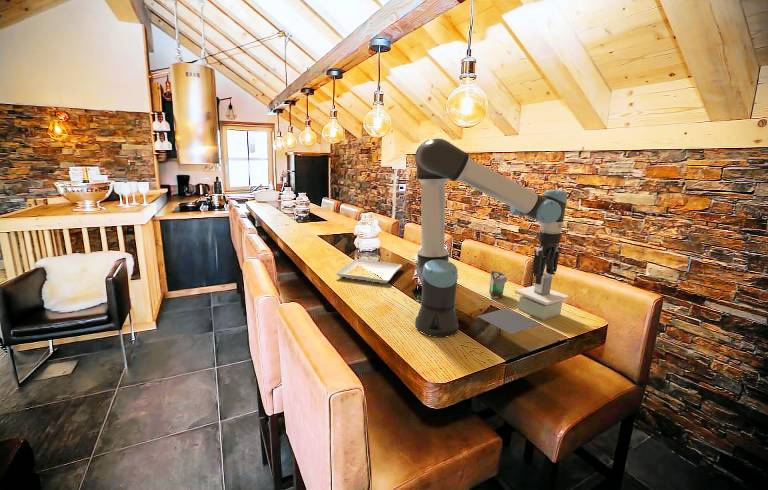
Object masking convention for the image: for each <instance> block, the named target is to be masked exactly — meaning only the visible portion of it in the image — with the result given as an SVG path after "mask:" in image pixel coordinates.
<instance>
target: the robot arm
mask: <svg viewBox="0 0 768 490" xmlns="http://www.w3.org/2000/svg"><path fill="white" fill-rule="evenodd" d="M414 162H415V165H416V180H417V181H418V182H419V183H420V193H421V195H420V198H421V199H420V200H421V201H420V202H421V203H420V204H421V206H420V207H421V210H420V211H421V214H420V215H421V216H420V217H421V227H420V228H421V230H420V231H421V248H420V249H419V250H418V251H417V262H416V266H415V267H416V268H415V269H416V270H415V271H416V275H417V277H418V279H419V281H420V284H421V304H420V307H419V311H418V313H417V315H416V317H415V321H414V327H415V326H416V327H415V329H416V328H417V329H418V330H419V331H421V332H423V333H425V334H427V335H426V336H428V335H431V336H430V337H432V336H436V337H435V338H447V337H446V336H449V337H452V336H455V335H456V334H457V333H458V331H459V321H458V317H457V314H456V313H457V312H456V299H457V286H458V284H457V283H458V279H459V278H458V277H459V275H458V268H457V266H456V264H454V263H452V262H451V261H450V262H449V260H450V259H449V253H450V252H449V251H448V249H446V247H445V246H446V245H445V244H446V243H445V241H446V239H445V238H446V236H445V234H446V232H445V230H446V229H445V227H446V224H445V222H446V217H445V216H446V183H447V182H448V181H449V180H450V181H452V182H461V183H463V184H465V185H467V186H469V187H471V188H473V189H475V190H477V191H479V192H481V193H483V194H485V195H487V196H489V197H491V198H493V199H494V200H497V201H499V202H500V203H503V204H504V205H507V206H509V211H510V214H512V215H513V216H519V217H521V216H523V217H524V216H525V217H526V218H527V217H528V218H530V219H533V220H536V221H538V222H540V225H539V230H540V231H539V232H538V233H539V234H538V241H539V242H540V244H539V248H538V249H534V250H533V253H534V254H533V255H534V257H533V258H534V259H533V265H532V266H533V267H532V275H535V276H536V277H535V282H536V284H534V285H535V291H537V292H540V293H542V289H543V282H544V276H543V274H545V275H548V276H551V277H552V276H555V274H556V272H557V269H558V263H559V259H560V253H561V250H562V247H559V246H558V244H560V243H561V238H562V233H561V232H562V231H563V227H564V225H563V224H564V219H565V213H566V207H567V203H568V202H567V201H568V200H567V199H568V194H567V192H566V191H565V190H561V189H546V190H545V191H544V193H543V194H542V195H541V194H539V193H536V192H534V191H533V190H532V189H529V188H527V187H525V186H524V185H522V184H519V183H518V182H516V181H514V180H512V179H510V178H508V177H506V176H505V175H502V174H501V173H499V172H497V171H495V170H493V169H491V168H489V167H487V166H486V165H483V164H482V163H479V162H477V161H475V160H473V159H471V155H470V153H468V152H466V151H464V150H462V149H461V148H459V147H458V146H456V145H454V144H453V143H451V142H449V141H448V140H446V139H443V138H431V139H428V140H426V141H424V142H422V143H421V144H420V145H419V146H418V147H417V149H416V151H415V154H414ZM552 278H553V277H552ZM417 329H416V330H417ZM418 330H417V331H418ZM419 331H418V332H419ZM421 332H420V333H421ZM425 334H424V335H425ZM451 335H452V336H451Z"/></svg>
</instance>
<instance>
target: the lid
mask: <svg viewBox="0 0 768 490" xmlns="http://www.w3.org/2000/svg"><path fill="white" fill-rule="evenodd" d="M543 276H544V282H543V289H542V293H540V292H537V291H535V284H536V281H534V282H535V284H534V285H531V286H527V287H522V288H519V289H516V290H514V294H517V295H520V296H524V297H527V298H529V299H532V300H534V301H537V302H539V303H542V304H544V305H549V304H553V303H556V302H559V301H562V302H563V301H565V300H568V299H570V295H567V294H565V293H562V292H559V291H556V290H553V289H551V288H552V287H551V285H552V280H553V277H551V276H548V275H545V274H544V273H543Z"/></svg>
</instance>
